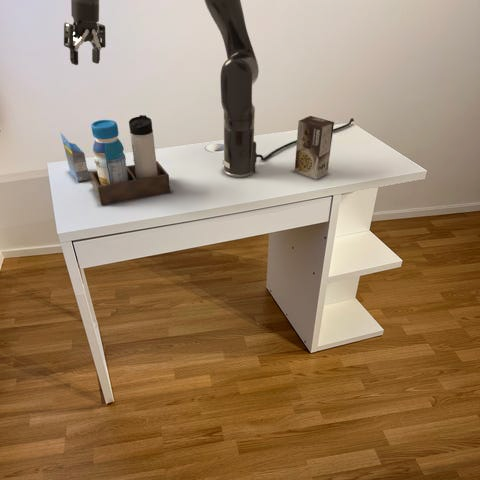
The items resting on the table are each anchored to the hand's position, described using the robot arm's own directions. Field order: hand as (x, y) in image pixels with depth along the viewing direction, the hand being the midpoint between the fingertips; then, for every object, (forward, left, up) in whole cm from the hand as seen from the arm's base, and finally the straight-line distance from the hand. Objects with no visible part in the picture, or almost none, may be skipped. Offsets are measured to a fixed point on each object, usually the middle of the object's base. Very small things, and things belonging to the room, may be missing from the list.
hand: (85, 63), depth 139 cm
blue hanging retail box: (+10, +15, -28) cm, 33 cm away
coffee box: (-58, +42, -28) cm, 77 cm away
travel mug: (-7, +32, -28) cm, 43 cm away
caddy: (-2, +32, -28) cm, 42 cm away
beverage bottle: (+3, +32, -28) cm, 43 cm away
